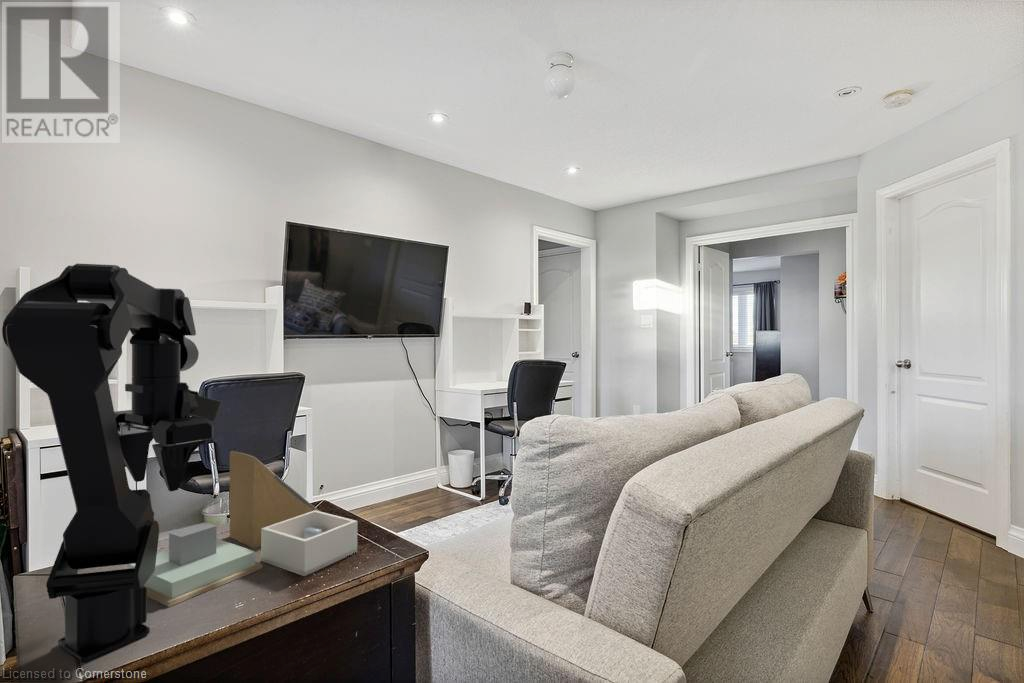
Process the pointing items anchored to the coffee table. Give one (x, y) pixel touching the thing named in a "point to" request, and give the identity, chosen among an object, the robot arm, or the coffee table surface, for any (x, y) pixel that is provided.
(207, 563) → the lid
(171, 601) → the cork mat
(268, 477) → the wooden ramp
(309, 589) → the coffee table surface
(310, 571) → the storage box
